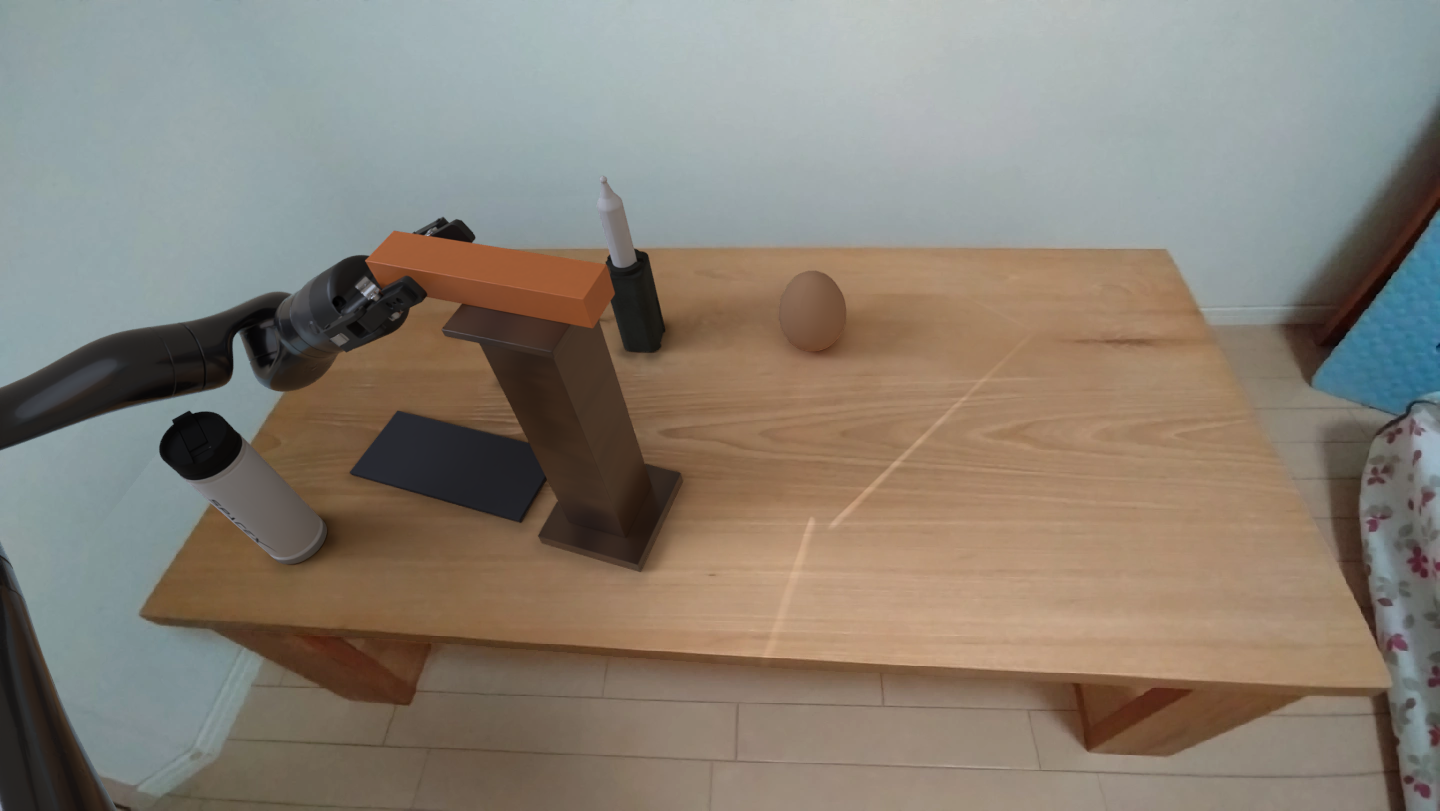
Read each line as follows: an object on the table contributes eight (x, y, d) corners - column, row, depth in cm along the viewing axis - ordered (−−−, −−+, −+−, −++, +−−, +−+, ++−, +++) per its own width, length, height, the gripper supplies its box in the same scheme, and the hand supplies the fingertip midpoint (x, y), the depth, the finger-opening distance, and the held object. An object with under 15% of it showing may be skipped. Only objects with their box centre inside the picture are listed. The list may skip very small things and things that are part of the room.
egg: (859, 340, 98) (861, 272, 90) (815, 377, 95) (813, 310, 87) (810, 311, 103) (808, 244, 94) (767, 346, 100) (761, 279, 91)
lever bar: (615, 293, 61) (607, 264, 58) (593, 328, 58) (583, 299, 56) (408, 258, 67) (393, 230, 64) (381, 288, 64) (364, 260, 62)
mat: (562, 453, 92) (560, 450, 92) (520, 523, 86) (519, 520, 86) (399, 413, 99) (397, 410, 99) (351, 475, 93) (349, 472, 93)
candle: (659, 353, 101) (619, 190, 82) (622, 351, 102) (573, 190, 83) (667, 325, 104) (630, 162, 85) (630, 324, 105) (586, 163, 86)
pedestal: (683, 480, 87) (625, 259, 63) (640, 572, 81) (557, 364, 56) (589, 457, 91) (501, 240, 67) (541, 543, 84) (422, 336, 60)
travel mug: (315, 505, 91) (211, 396, 76) (336, 541, 87) (230, 434, 72) (264, 537, 89) (146, 431, 74) (283, 576, 85) (163, 472, 70)
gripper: (423, 285, 78) (519, 238, 68) (333, 389, 70) (427, 353, 59) (364, 228, 75) (455, 169, 64) (262, 331, 66) (348, 282, 56)
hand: (441, 258), depth 62 cm, fingers open, 6 cm apart
